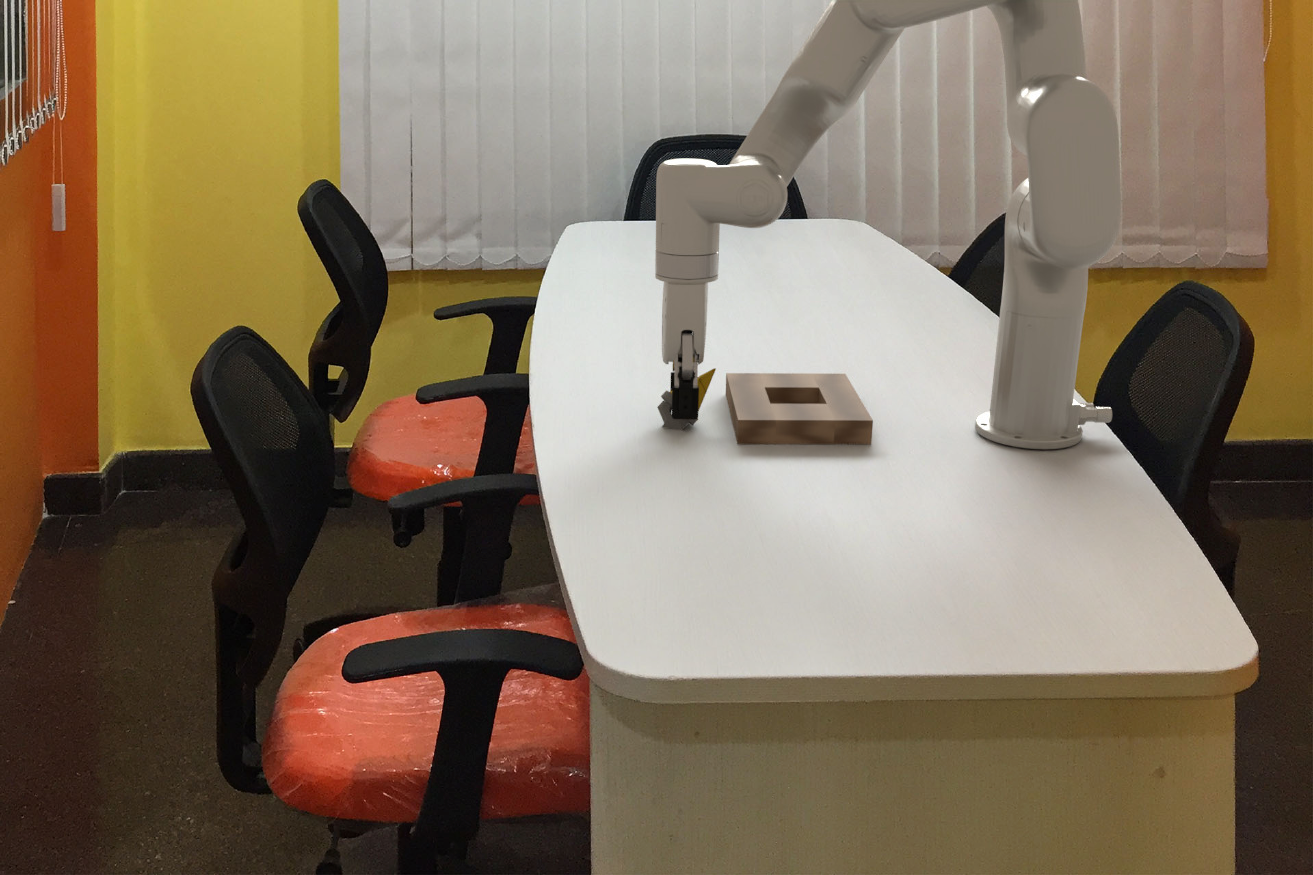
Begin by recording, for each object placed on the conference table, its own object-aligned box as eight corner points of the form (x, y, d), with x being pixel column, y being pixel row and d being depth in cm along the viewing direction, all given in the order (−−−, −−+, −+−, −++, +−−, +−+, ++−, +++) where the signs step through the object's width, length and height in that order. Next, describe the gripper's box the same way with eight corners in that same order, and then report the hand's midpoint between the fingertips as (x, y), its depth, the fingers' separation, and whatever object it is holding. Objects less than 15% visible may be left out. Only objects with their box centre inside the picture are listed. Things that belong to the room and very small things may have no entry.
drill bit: (652, 421, 152) (705, 363, 153) (682, 447, 150) (735, 388, 150) (640, 407, 147) (695, 347, 148) (670, 433, 145) (726, 372, 146)
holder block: (843, 395, 162) (845, 373, 161) (871, 444, 143) (873, 420, 142) (725, 394, 162) (726, 373, 161) (737, 443, 143) (738, 420, 142)
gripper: (654, 252, 151) (652, 390, 157) (656, 280, 135) (654, 433, 141) (713, 252, 151) (710, 390, 157) (723, 280, 135) (718, 433, 141)
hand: (683, 409), depth 149 cm, fingers closed on drill bit, 5 cm apart
